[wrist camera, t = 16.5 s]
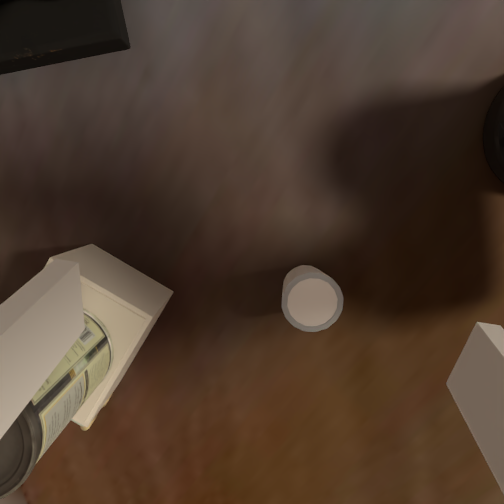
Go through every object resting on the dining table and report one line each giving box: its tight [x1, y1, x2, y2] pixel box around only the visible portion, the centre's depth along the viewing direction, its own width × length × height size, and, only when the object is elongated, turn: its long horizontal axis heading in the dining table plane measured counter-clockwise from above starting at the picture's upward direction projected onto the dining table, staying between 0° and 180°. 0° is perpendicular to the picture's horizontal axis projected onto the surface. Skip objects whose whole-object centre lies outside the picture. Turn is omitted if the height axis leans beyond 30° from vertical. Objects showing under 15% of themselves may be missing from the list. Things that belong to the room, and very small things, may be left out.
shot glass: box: [281, 265, 344, 332], centre depth 44 cm, size 7×7×7 cm
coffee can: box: [0, 308, 114, 499], centre depth 32 cm, size 10×10×14 cm
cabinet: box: [44, 244, 174, 431], centre depth 44 cm, size 12×17×10 cm
